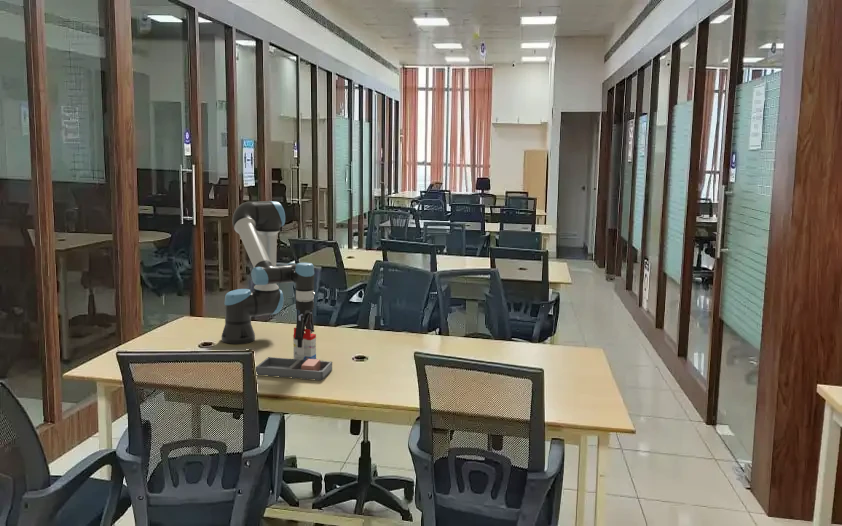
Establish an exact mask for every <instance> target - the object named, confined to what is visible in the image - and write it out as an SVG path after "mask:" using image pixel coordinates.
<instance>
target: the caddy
mask: <svg viewBox="0 0 842 526" xmlns="http://www.w3.org/2000/svg"><path fill="white" fill-rule="evenodd" d="M305 361H307V360H302V359H294V358H285V357H271V356H269V357H268V356H267V358H265V359H264V360H263V361H262V362H260V363H259V364H257V365H256V366H255V373H256V372H257V374H258V375H268V376H267V377H269V376H279V377H278V378H282V377H292V378H291V379H295V378H302V379H301V380H308V379H315V380H314V381H321V380H323V379H324V380H325V379H326V377H327V376H328V375H329V374H330V373H331V372H332V371H333V361H327V360H325V361H324V360H320V370H319V371H312V370H301V365H302V364H303V363H304V362H305ZM324 380H323V381H324Z"/></svg>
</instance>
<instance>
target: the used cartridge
mask: <svg viewBox="0 0 842 526" xmlns="http://www.w3.org/2000/svg"><path fill="white" fill-rule="evenodd" d="M320 361H321V359H317V358H316V359H308V360H307V361H305V362H304V363H303V364H302V365H301V370H312V371H319V370H320Z"/></svg>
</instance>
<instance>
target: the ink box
mask: <svg viewBox="0 0 842 526" xmlns="http://www.w3.org/2000/svg"><path fill="white" fill-rule="evenodd" d="M295 334H296V327H293V335H292V336H293V340H292V341H293V359H302V360H308V359H317V333H312V334H311V330H310V329H306V328H305V330H304V336H303V339H304V355H297V340H295ZM299 337H300V336H299Z"/></svg>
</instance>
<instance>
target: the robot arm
mask: <svg viewBox="0 0 842 526" xmlns="http://www.w3.org/2000/svg"><path fill="white" fill-rule="evenodd" d="M231 221H232V222H231V223H232V227H233V229H234V231H235V233H237V234H239V238H240V239H241V241H242V244H243V247H244V249H245V251H246V253H247V255H248V258H249V260H250V262H251V264H252V267H253V268H252V270H251V273H250V275H251V281H252V283H253V284H254V285H253V291H252V290H251V289H249V288H238V289H234V290H231V291H228V292H226V294H225V296H224V303H223V304H224V323H225V324H224V327H223V331H222V333H221V342H222V343H225V344H229V343H230V345H231V344H232V345H239V344H241V345H242V344H249V343H252V342H254V341H255V340H256V334H255V330H254V328H253V325H252V317H259V316H260V317H261V316H272V315H276V314H278V313H280V311H281V310H282V309H283V307H284V299H285V298H284V293H283V291H282V289H280V287H279V285H278V284H289V283H290V284H291V283H294V284H295V310H297V311H299V314H298V315H296V324H295V325H296V327H295V328H296V334H295V340H297V355H304V339H303V336H304V333H305V331H304V330H305V329H310V330H311V334H313V333H315V325H314V323H315V322H314V316H313V314H314V313H313V310H314V308H315V301H314V297H315V295H316V292H315V291H314V290H315V266H314V264H313V263H312V262H298V263H292V262H291V263H287V264H284V265H277V248H278V247H277V245H278V242H277V240H278V234H279V232H281V227H284V226H285V223H286V213H285V209H284V207H283V205H282V203H280V202H279V201H272V200H264V201H263V200H262V201H246V202H243V203H241V204H239V205H238V206H237V207H236V208H235V210H234V212H233V215H232V219H231ZM299 336H300V337H299Z"/></svg>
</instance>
